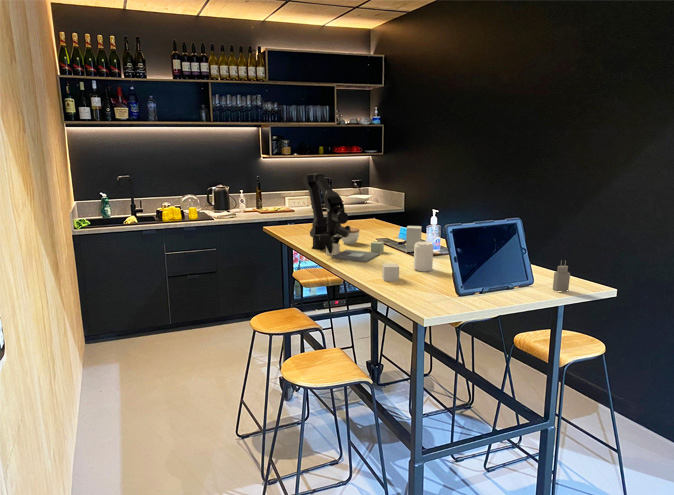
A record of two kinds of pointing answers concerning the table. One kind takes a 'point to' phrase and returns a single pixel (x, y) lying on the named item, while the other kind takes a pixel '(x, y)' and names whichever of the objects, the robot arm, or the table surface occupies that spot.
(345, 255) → the mat
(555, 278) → the power adapter
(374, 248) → the sage block
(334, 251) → the cream block
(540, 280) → the table surface
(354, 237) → the lidded jar
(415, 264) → the beverage can
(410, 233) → the supplement box
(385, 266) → the pinkish grey cube
